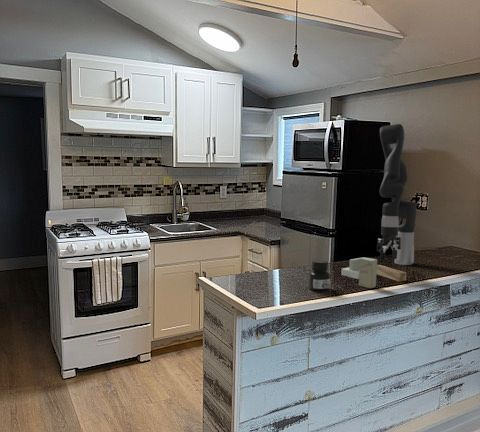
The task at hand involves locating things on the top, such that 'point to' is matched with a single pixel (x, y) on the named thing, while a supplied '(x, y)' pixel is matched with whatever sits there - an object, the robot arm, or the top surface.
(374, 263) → the skincare box
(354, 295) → the top surface
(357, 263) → the fulcrum
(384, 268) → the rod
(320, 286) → the ink bottle
